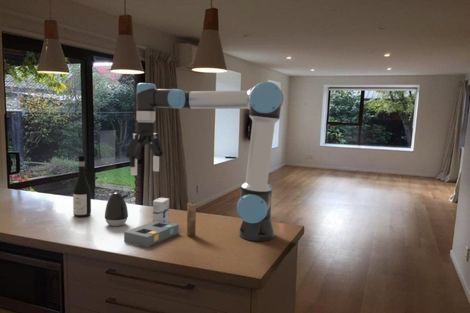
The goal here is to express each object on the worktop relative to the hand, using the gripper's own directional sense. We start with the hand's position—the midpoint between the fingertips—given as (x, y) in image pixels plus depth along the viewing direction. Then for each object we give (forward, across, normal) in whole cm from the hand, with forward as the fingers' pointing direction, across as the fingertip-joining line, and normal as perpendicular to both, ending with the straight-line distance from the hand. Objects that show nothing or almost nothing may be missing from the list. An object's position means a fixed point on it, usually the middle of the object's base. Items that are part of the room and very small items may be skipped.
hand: (145, 173), depth 154 cm
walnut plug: (+27, -11, +16) cm, 33 cm away
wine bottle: (+27, -7, -46) cm, 54 cm away
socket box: (+27, 0, +4) cm, 27 cm away
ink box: (+27, -17, -5) cm, 32 cm away
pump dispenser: (+27, -5, -21) cm, 34 cm away
